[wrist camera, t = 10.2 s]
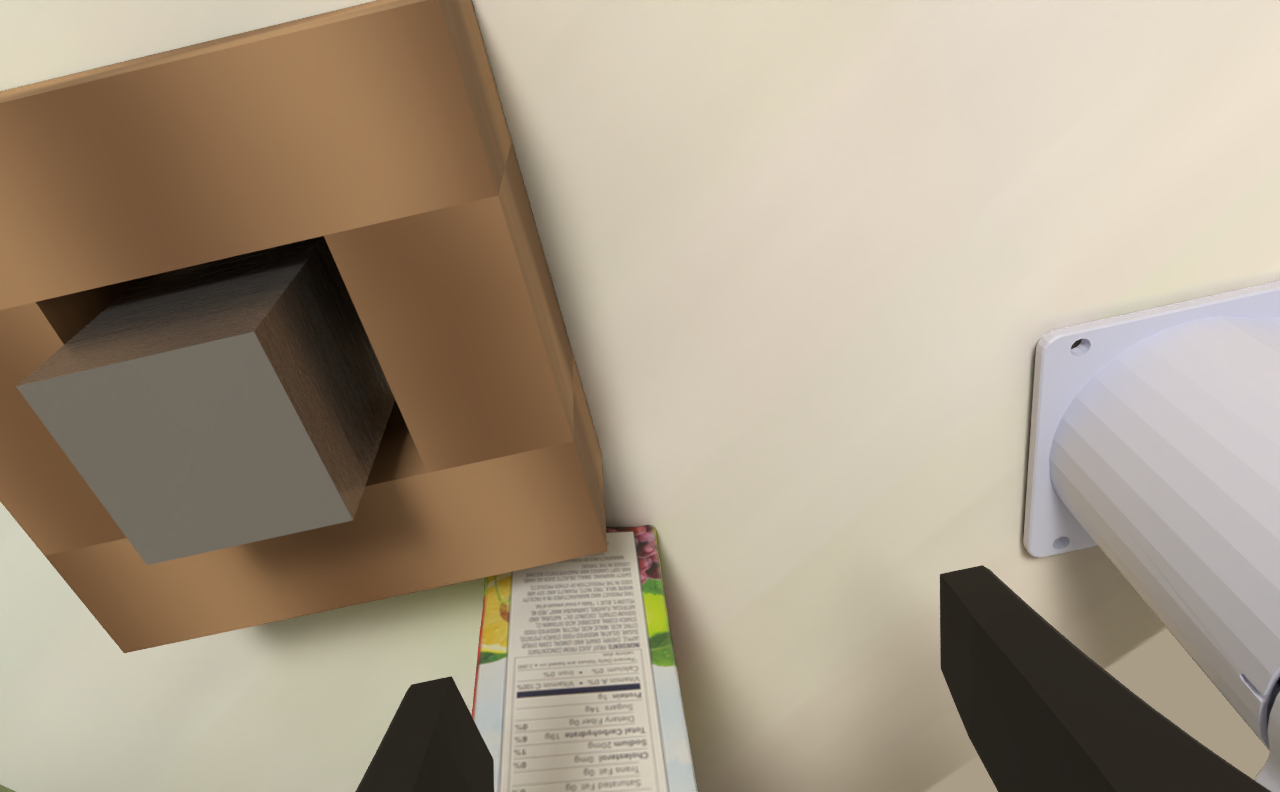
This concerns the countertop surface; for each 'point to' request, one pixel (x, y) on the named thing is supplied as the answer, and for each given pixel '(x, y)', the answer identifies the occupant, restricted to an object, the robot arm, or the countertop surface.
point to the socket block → (372, 272)
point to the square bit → (221, 402)
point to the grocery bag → (5, 789)
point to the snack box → (583, 675)
